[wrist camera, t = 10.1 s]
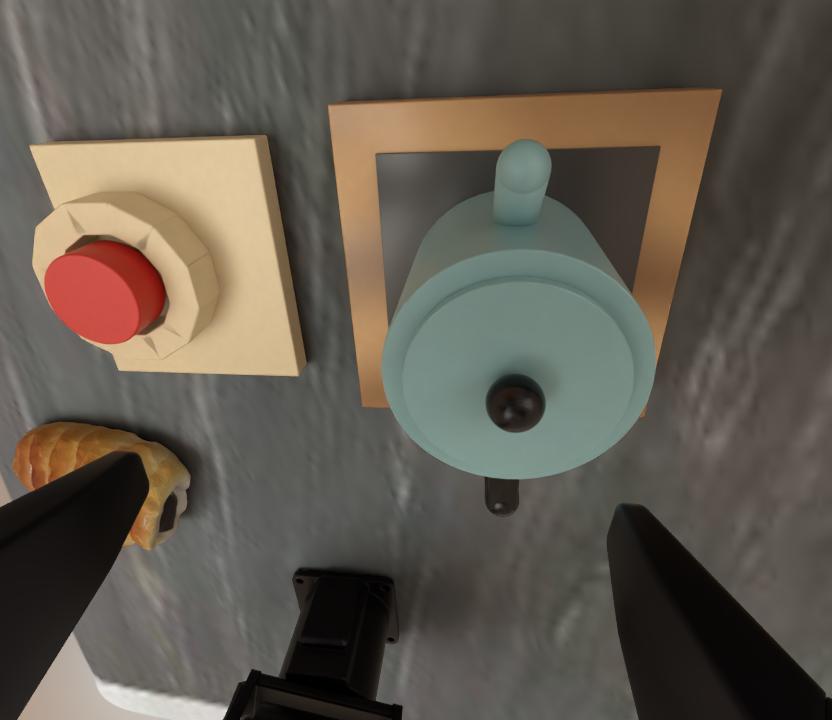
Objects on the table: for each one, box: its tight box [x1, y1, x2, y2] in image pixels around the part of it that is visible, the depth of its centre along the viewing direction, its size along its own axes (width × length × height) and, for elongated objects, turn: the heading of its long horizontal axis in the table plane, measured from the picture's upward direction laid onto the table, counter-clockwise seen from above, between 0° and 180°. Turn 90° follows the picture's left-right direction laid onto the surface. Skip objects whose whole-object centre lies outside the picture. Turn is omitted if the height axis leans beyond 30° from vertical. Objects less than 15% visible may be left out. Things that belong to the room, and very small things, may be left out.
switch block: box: [30, 135, 307, 376], centre depth 20 cm, size 10×9×3 cm
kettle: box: [381, 139, 656, 517], centre depth 15 cm, size 11×7×8 cm, turn 2°
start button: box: [44, 240, 165, 344], centre depth 19 cm, size 4×4×2 cm
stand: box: [328, 87, 722, 418], centre depth 19 cm, size 12×12×2 cm
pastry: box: [12, 422, 191, 550], centre depth 27 cm, size 9×7×4 cm
